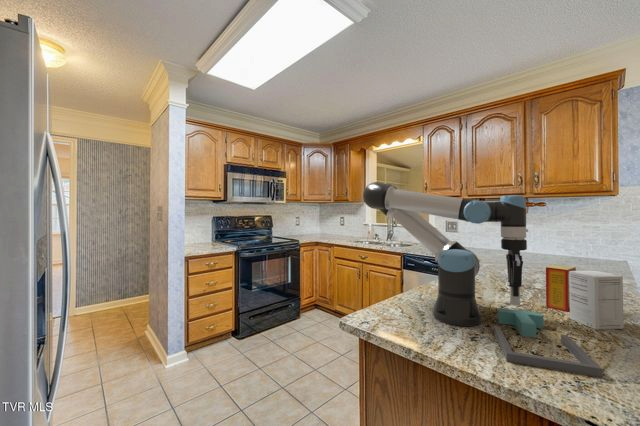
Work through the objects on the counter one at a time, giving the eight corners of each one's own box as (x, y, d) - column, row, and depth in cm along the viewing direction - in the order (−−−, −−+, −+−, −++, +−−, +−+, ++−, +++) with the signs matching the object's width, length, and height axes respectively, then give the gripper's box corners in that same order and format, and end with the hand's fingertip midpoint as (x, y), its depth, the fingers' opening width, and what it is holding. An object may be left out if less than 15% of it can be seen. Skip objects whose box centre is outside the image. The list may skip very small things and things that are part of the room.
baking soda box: (555, 302, 114) (554, 263, 114) (576, 307, 109) (575, 266, 109) (546, 307, 109) (545, 266, 109) (567, 312, 103) (567, 269, 103)
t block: (505, 333, 85) (504, 320, 85) (497, 319, 97) (497, 307, 97) (554, 340, 81) (553, 326, 81) (539, 324, 92) (539, 312, 92)
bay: (506, 361, 69) (506, 353, 69) (493, 332, 86) (493, 325, 86) (602, 377, 62) (602, 368, 62) (567, 342, 79) (567, 335, 79)
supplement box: (595, 318, 97) (594, 270, 97) (625, 329, 88) (624, 275, 88) (568, 318, 97) (568, 270, 97) (595, 329, 88) (595, 276, 88)
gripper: (531, 240, 92) (533, 311, 92) (521, 237, 104) (522, 300, 104) (505, 239, 95) (506, 309, 95) (497, 237, 107) (499, 298, 107)
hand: (515, 304), depth 100 cm, fingers closed
